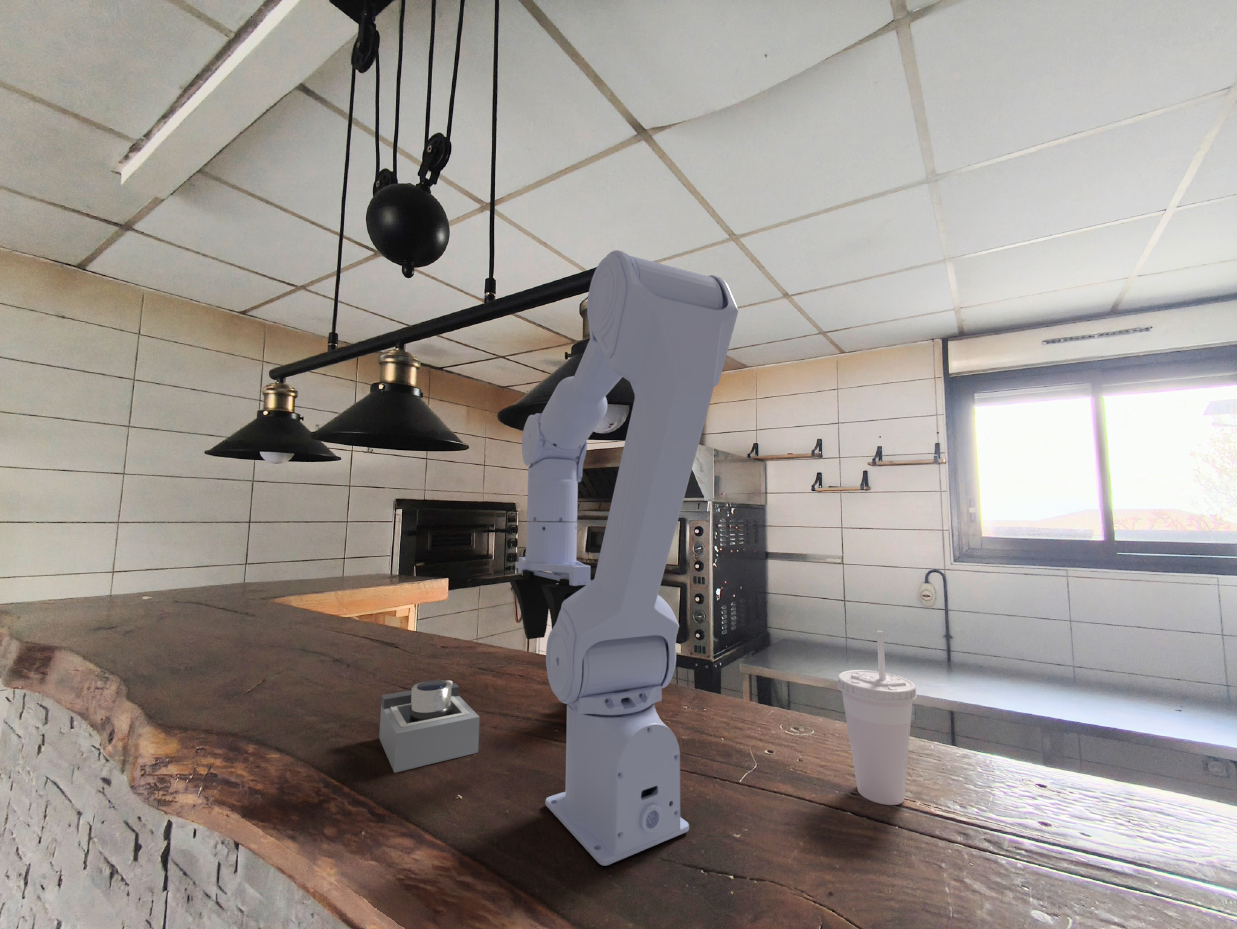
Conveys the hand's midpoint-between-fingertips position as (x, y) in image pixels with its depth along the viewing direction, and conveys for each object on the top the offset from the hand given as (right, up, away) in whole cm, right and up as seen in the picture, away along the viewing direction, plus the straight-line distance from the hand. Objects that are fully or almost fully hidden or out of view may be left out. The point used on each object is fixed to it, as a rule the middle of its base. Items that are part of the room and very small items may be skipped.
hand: (549, 644), depth 57 cm
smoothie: (+31, -9, -12) cm, 34 cm away
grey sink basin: (-12, -10, -3) cm, 16 cm away
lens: (-12, -10, -3) cm, 16 cm away
